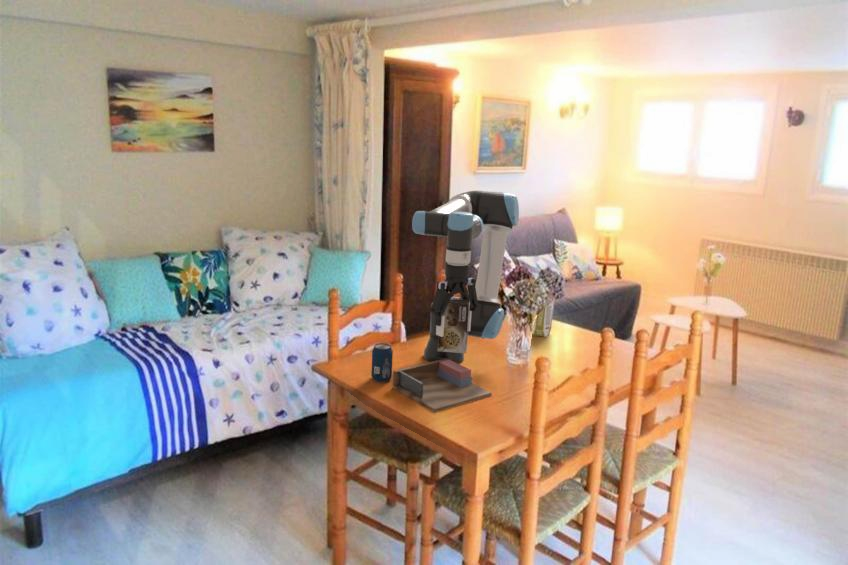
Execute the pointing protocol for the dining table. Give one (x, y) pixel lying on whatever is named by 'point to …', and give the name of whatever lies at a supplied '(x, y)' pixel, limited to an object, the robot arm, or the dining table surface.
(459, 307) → the coffee box
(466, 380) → the books
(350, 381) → the dining table surface
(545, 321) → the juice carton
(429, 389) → the book stand
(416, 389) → the grey upright panel
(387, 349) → the soda can
